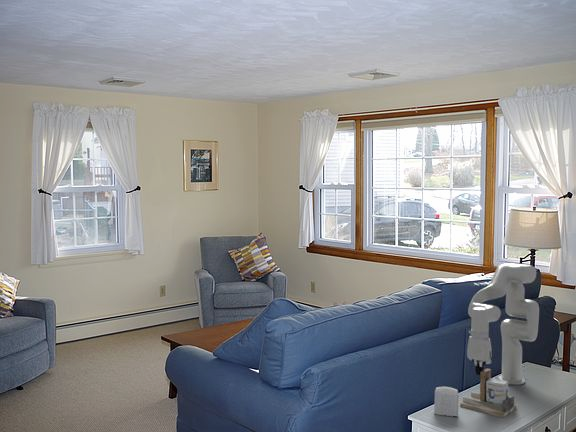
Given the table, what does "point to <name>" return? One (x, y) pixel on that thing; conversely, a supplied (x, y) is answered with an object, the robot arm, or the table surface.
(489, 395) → the ink box
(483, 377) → the end bracket
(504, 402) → the rail board
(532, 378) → the table surface
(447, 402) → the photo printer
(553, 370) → the table surface
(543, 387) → the table surface
